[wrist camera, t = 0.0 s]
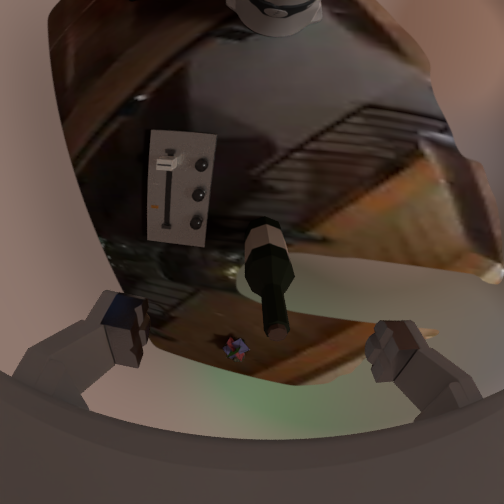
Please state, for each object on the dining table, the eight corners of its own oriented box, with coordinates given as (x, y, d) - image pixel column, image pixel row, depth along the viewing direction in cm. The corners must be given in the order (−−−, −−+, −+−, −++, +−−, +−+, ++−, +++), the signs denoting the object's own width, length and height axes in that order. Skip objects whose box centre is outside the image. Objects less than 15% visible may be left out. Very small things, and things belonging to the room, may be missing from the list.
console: (154, 129, 48) (147, 130, 45) (217, 134, 50) (215, 135, 46) (150, 236, 60) (144, 244, 56) (205, 243, 61) (203, 251, 57)
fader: (163, 155, 49) (156, 159, 45) (177, 156, 49) (172, 160, 46) (162, 165, 50) (156, 169, 46) (176, 166, 50) (171, 171, 47)
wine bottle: (244, 250, 62) (244, 355, 36) (245, 216, 58) (244, 310, 32) (281, 251, 62) (304, 354, 36) (284, 216, 58) (314, 309, 32)
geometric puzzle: (214, 341, 73) (224, 367, 69) (232, 330, 71) (244, 357, 67) (228, 341, 79) (238, 365, 75) (246, 331, 77) (257, 356, 73)
